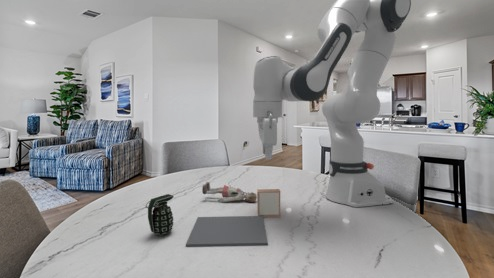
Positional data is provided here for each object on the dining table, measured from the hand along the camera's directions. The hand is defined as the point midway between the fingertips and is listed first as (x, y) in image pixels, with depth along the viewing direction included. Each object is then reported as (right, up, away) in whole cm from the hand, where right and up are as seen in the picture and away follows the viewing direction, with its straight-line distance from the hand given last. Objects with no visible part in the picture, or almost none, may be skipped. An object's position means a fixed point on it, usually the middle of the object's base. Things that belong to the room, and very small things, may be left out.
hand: (266, 156), depth 78 cm
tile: (+1, -19, +2) cm, 19 cm away
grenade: (-29, -20, -10) cm, 37 cm away
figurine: (-12, -18, +15) cm, 26 cm away
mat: (-11, -20, -8) cm, 24 cm away
